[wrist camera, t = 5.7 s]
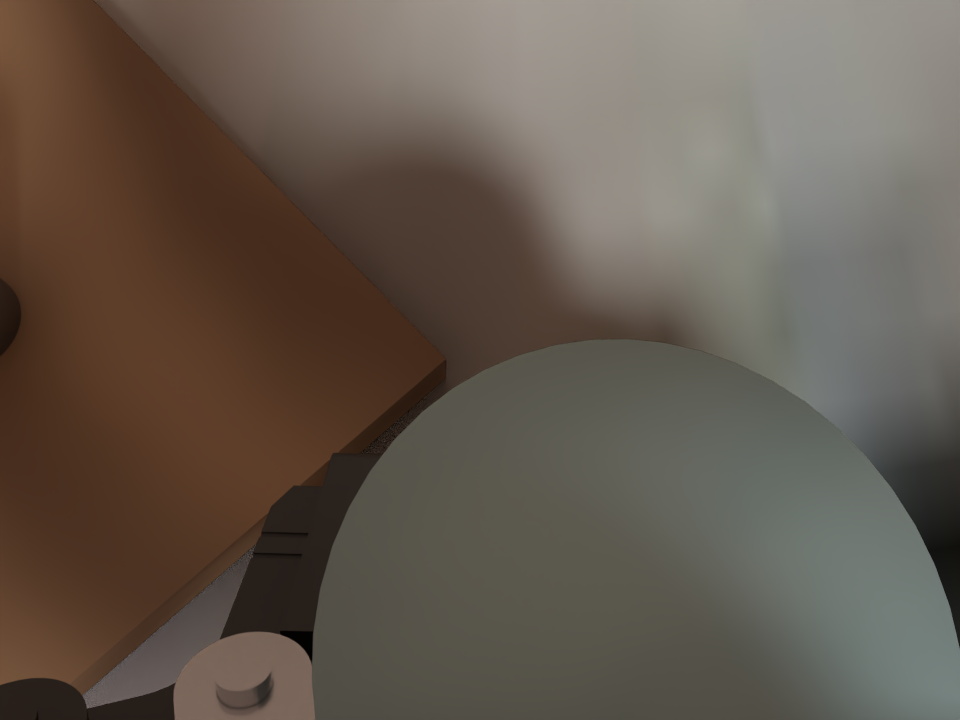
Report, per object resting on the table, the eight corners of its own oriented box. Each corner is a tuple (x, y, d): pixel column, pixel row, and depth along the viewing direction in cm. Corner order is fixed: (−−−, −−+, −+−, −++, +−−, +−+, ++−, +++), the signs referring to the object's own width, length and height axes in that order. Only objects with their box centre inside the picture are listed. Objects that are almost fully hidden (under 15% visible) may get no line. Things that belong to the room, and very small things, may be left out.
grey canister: (526, 448, 16) (624, 235, 8) (722, 648, 15) (1088, 653, 7) (326, 637, 15) (174, 629, 6) (525, 875, 14) (669, 1261, 5)
